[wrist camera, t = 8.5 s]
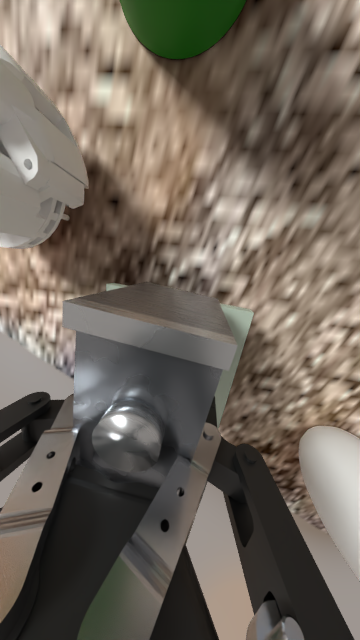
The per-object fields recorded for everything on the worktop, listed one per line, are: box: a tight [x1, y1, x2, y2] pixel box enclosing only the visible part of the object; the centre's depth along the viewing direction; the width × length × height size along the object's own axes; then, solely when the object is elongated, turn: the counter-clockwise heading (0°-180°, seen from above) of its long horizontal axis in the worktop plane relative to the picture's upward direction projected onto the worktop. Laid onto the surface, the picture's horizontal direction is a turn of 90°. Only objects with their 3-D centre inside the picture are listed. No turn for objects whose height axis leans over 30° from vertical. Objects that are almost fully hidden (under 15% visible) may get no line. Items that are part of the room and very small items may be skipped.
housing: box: [63, 282, 238, 489], centre depth 10 cm, size 5×9×8 cm, turn 168°
